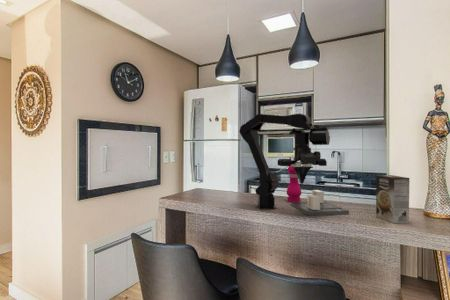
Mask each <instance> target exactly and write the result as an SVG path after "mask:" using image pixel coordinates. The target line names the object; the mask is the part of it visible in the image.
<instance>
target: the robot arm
mask: <svg viewBox="0 0 450 300" xmlns="http://www.w3.org/2000/svg"><path fill="white" fill-rule="evenodd" d="M264 124H274V125H285V126H289V127H293V128H292V129H291V130H290V131H289V135H294V147H293V151H294V157H293V160H292V159H291V158H278V160H277V166H280V167H289V166H290V165H292V166H291V167H292V168H293V169H294V170H295V172H296V174H297V176H298V182H299V183H300V184H304V182H305V181H306V178H307V177H306V176H307V175H308V173H309V171H310V170H311V169H314V166H320V167H327V166H328V165H327V164H328V162H327V160H326V159H325V158H321V157H322V155H321V152H320V151H316V150H314V151H313V152H312V148H311V147H310V143H311V145H313V146H328V145H330V142H331V136H330V132H329V127H327V126H324V127H315V126H314V125H313V124H312V119H311V117H309V115H307V114H303V113H292V114H289V115H279V114H277V115H276V114H264V113H258V114H256V115H255V116H254V117H252V118H251V119H250V120H247V121H246V122H245V123H244V124H243V123H242V125H241V126H240V127H239V134H240V136H241V138H242V139H243V140H244V141H245V142H246V144H247V145H248V148H249V150H250V153H251V154H252V158H253V160H254V163H255V165H256V168H257V170H258V172H259V173H258V174H259V175H258V176H259V177H258V181H259V186H257V187H256V188H255V189H254V191H255V194H256V195H257V204H256V207H257V208H258V209H260V210H275V209H276V208H275V197H274V193H276V192H275V191H276V189H278V187H279V185H280V183H279V182H280V179H279V178H278V175H277V173H276V171H274V172H273V171H272V170H271V169H270V168H269V166H268V163H267V160H266V158H265V156H264V153H263V150H262V148H261V145H260V143H259V131H260V130H261V129H262V127H263V126H264ZM299 129H300V130H299Z"/></svg>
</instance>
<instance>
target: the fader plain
mask: <svg viewBox="0 0 450 300" xmlns="http://www.w3.org/2000/svg"><path fill="white" fill-rule="evenodd" d="M311 192H312V193H311V195H316V196H318V197H320V203H324V201H325V200H324V197H325V196H324V195H325V194H324V192H325V191H323V190H319V189H313V190H312V191H311Z"/></svg>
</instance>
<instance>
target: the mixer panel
mask: <svg viewBox="0 0 450 300" xmlns="http://www.w3.org/2000/svg"><path fill="white" fill-rule="evenodd" d="M289 203H290V204H289V205H290V206H291V207H293V208H295V209H297V210H299V211H300V212H302V213H303V214H305V215H306V216H308V217H310V216H337V215H338V216H340V215H341V216H342V215H349V214H350V210H348V209H346V208H343V207H342V206H339V205H336V204H334V203H331V202H328V201H327V200H324V203H320V210H312V209H310V208H308V207H307V200H304V201H301V200H300V201H298V202H289Z"/></svg>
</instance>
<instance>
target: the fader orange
mask: <svg viewBox="0 0 450 300" xmlns="http://www.w3.org/2000/svg"><path fill="white" fill-rule="evenodd" d="M306 199H307V200H306V201H307V207H308V208H310V209H312V210H320V197H318V196H316V195H312V194H307V196H306Z"/></svg>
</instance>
